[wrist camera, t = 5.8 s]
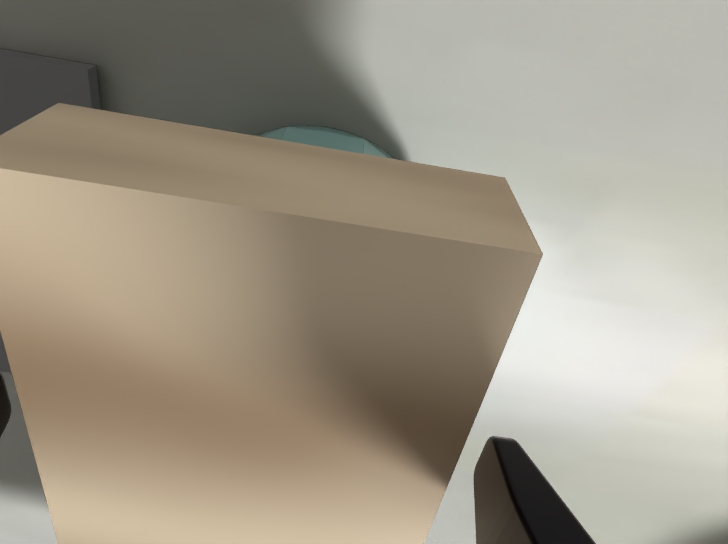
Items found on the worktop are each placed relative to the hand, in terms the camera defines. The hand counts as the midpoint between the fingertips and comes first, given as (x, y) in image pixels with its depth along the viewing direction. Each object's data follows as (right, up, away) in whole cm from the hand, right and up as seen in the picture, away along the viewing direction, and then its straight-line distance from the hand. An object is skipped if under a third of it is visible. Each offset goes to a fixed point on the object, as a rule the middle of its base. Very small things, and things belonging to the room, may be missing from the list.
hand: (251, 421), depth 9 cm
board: (0, +1, +1) cm, 2 cm away
